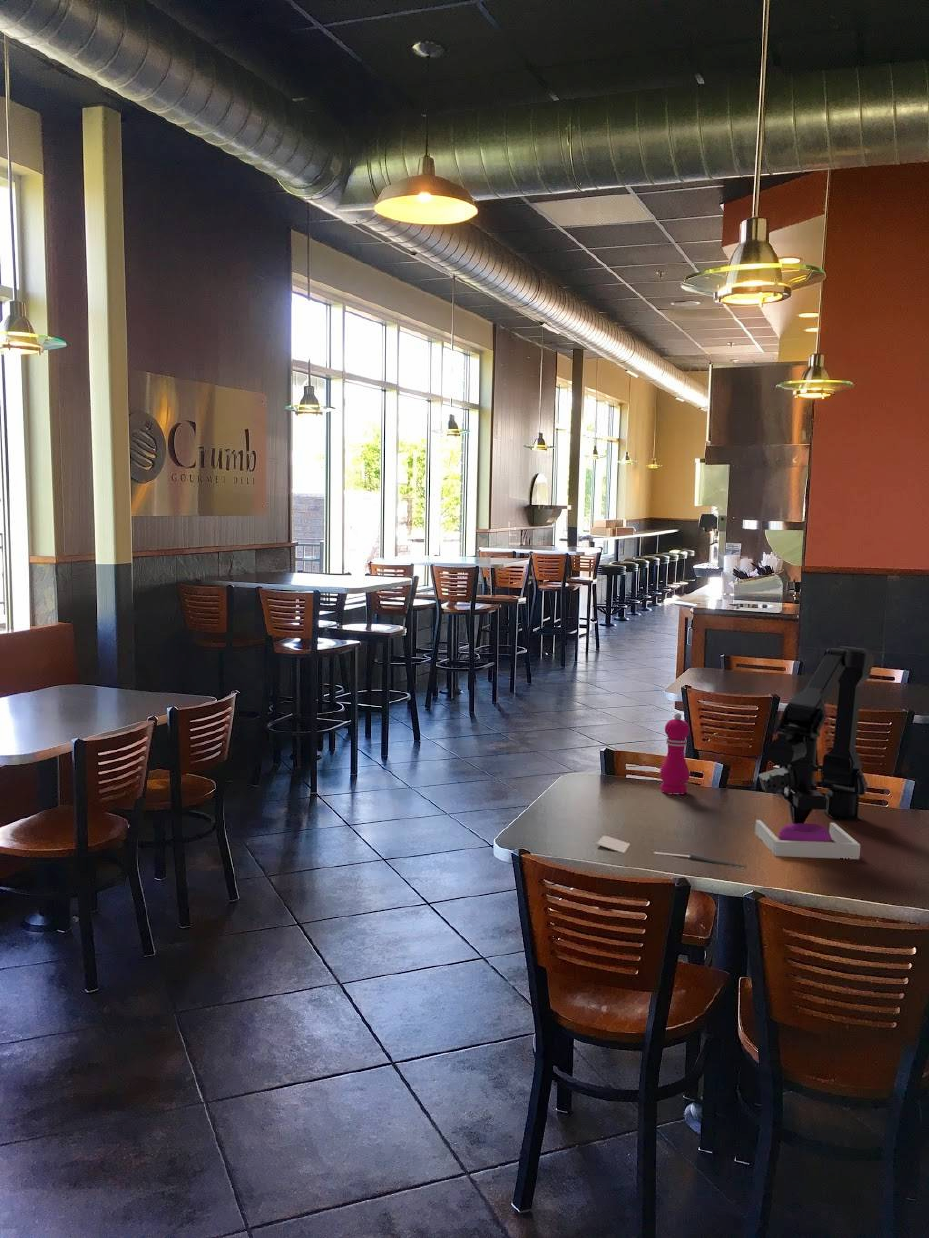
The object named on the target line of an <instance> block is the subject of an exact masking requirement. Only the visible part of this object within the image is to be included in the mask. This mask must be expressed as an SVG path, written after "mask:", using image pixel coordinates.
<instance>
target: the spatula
mask: <svg viewBox="0 0 929 1238" xmlns="http://www.w3.org/2000/svg"><path fill="white" fill-rule="evenodd" d="M596 845H599V846H601V847H603V848H605V849H609V850H612V851H616V852H618V853H626V851H627V850H628V848H629V846H630V845H631V843H629V842H625V841H623V840H620V839H617V838H613V837H611V836H608V835H603V836H602V837H601V838H600V839H599V840H598V841H597V842H596ZM653 854H657V855H662V856H671V857H672V856H673V857H681V858H689V859H691V860H695V861H699V862H704V861H705V862H704V863H710V862H711V864H715V863H719V864H718V865H721V864H724V865H723V866H727V865H732V866H731V867H734V866H739V867H738V868H740V867H746V868H747V865H742V864H738V863H733V862H728V861H723V860H718V859H715V858H714V859H713V858H709V857H704V856H699V855H694V854H690V855H689V854H688V855H687V854H678V853H668V852H667V853H666V852H658V851H654V852H653Z"/></svg>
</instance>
